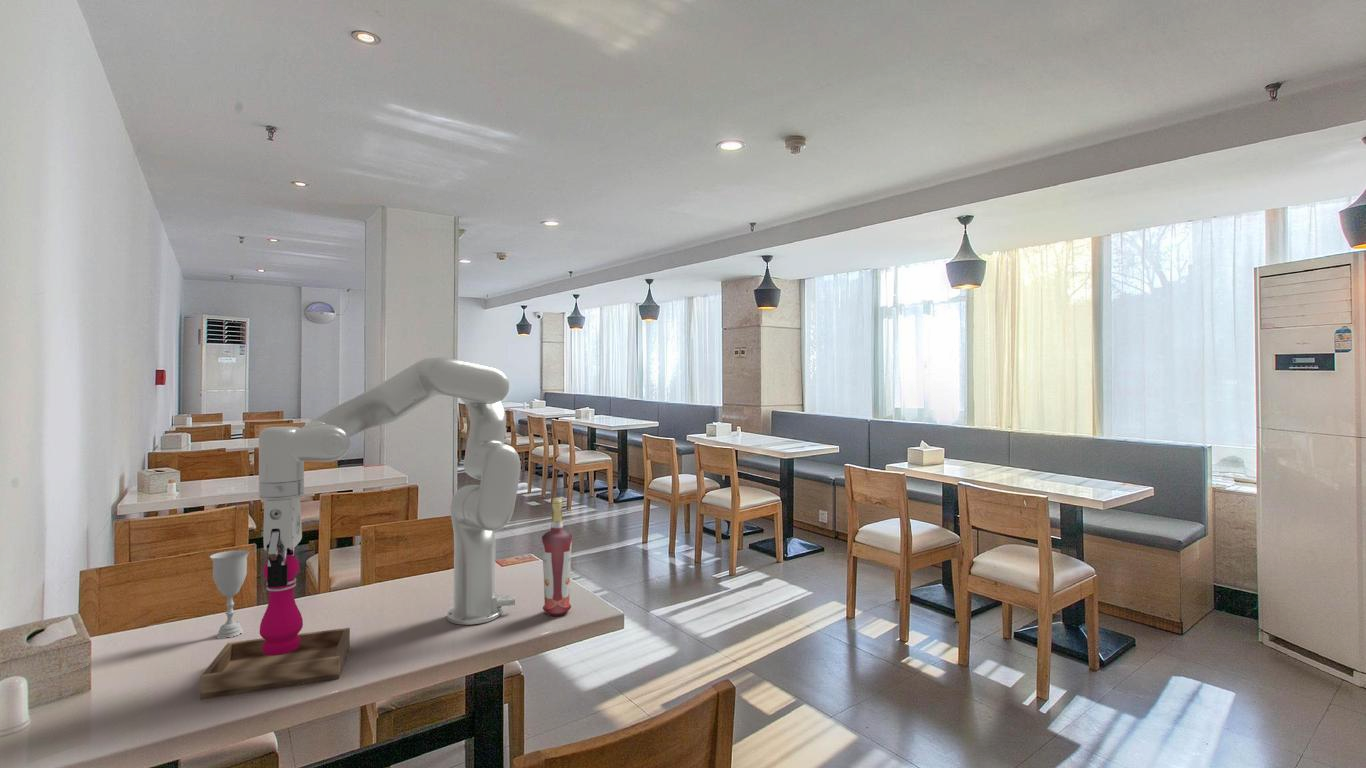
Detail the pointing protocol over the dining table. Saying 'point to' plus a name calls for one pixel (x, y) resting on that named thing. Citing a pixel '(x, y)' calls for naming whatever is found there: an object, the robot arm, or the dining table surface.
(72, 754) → the dining table surface
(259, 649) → the serving tray
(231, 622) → the chalice
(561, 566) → the liquor
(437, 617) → the dining table surface
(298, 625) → the pepper mill
